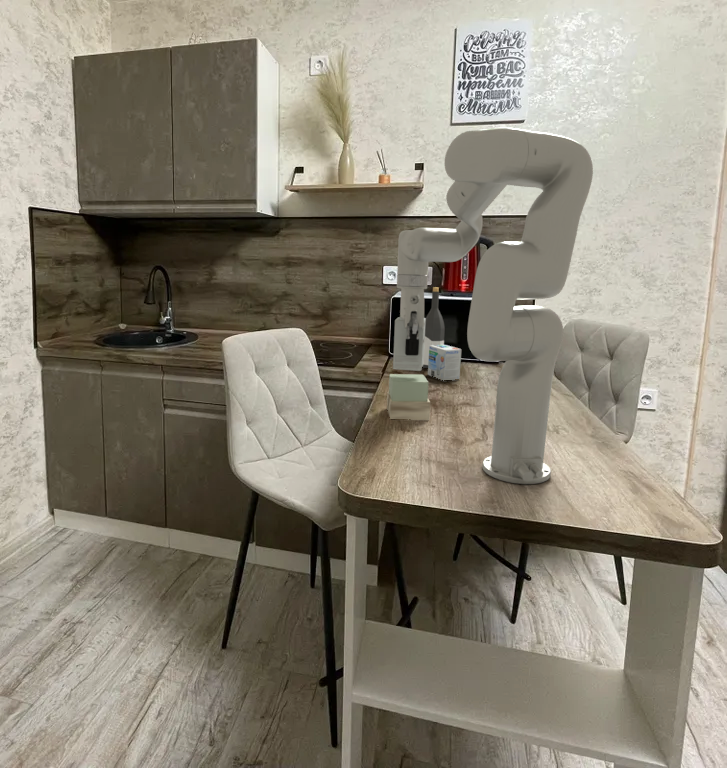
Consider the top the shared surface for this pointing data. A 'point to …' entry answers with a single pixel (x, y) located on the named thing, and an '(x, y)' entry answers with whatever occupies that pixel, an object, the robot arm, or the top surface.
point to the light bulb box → (444, 362)
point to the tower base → (408, 409)
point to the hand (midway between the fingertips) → (409, 351)
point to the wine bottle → (433, 327)
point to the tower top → (408, 387)
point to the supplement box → (400, 358)
